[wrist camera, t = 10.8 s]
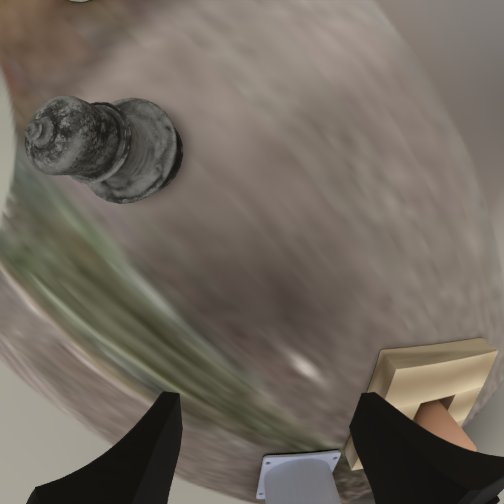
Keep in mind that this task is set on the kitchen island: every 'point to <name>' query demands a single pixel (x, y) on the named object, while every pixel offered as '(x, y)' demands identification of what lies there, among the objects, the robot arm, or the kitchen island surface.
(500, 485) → the robot arm
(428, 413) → the peg
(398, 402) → the socket block
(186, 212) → the kitchen island surface
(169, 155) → the chess piece
